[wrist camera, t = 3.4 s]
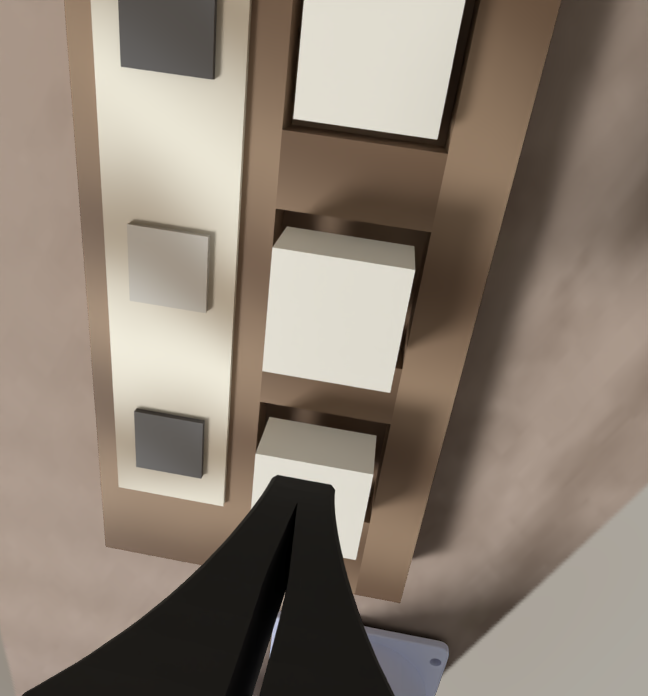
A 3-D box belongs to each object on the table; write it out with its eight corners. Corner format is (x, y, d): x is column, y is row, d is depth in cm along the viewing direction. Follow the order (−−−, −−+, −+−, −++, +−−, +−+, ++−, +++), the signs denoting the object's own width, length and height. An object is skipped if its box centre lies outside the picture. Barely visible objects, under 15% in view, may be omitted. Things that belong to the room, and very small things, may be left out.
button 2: (434, 130, 16) (437, 139, 14) (305, 111, 16) (293, 118, 14) (464, -24, 14) (472, -34, 13) (320, -42, 15) (309, -55, 13)
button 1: (360, 516, 21) (355, 559, 19) (261, 498, 21) (248, 539, 19) (376, 435, 19) (373, 474, 17) (269, 417, 19) (255, 453, 18)
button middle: (391, 358, 18) (390, 392, 16) (276, 339, 18) (262, 370, 16) (414, 246, 16) (415, 270, 14) (286, 226, 16) (272, 247, 14)
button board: (400, 563, 24) (399, 611, 22) (126, 512, 25) (100, 554, 23) (603, -228, 13) (641, -283, 11) (86, -283, 14) (27, -345, 12)
